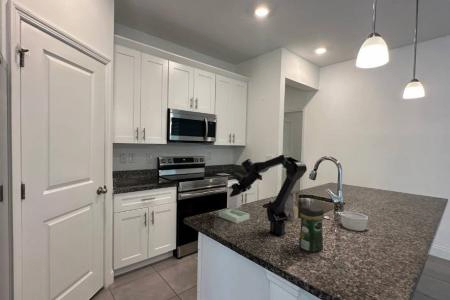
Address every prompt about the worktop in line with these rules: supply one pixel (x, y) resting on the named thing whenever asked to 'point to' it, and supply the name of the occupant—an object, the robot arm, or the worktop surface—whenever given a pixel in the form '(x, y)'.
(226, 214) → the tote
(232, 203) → the tin
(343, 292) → the worktop surface
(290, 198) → the coffee box
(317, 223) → the coffee jar
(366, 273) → the worktop surface
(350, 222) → the ramekin
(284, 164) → the robot arm
